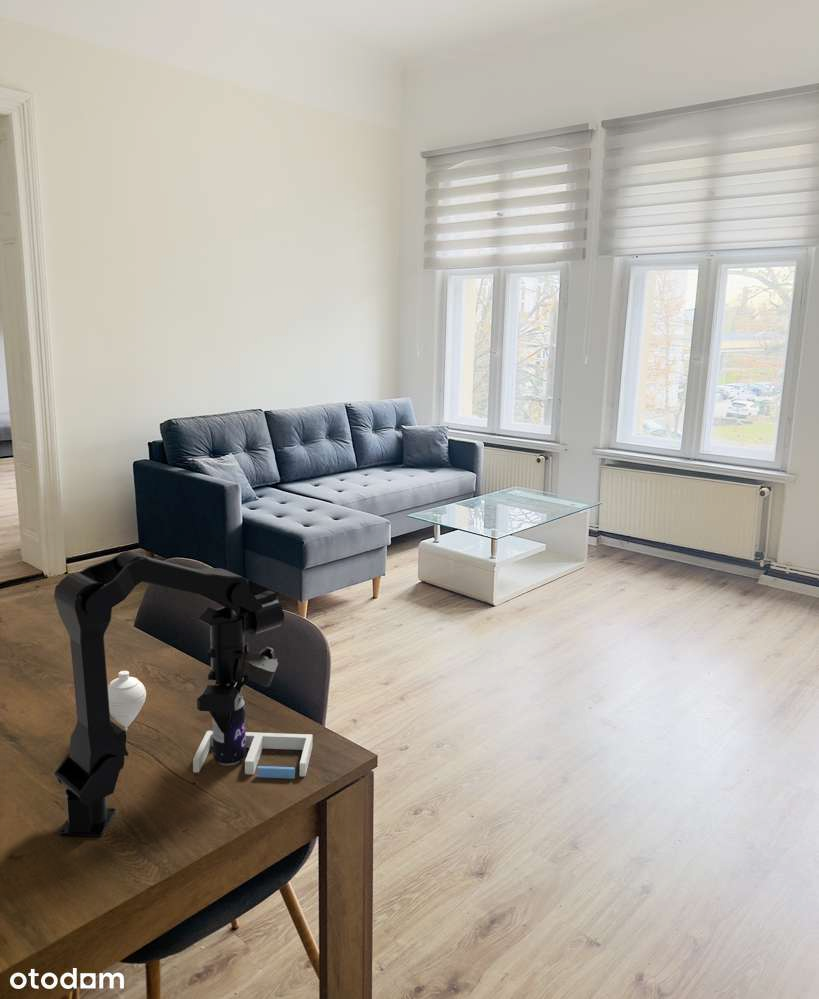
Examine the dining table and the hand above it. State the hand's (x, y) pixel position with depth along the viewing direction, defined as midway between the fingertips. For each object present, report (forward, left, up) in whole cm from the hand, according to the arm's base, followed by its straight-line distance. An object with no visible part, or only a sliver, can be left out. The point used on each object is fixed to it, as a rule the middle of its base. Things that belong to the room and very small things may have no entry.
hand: (228, 723), depth 141 cm
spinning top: (+8, +22, -7) cm, 24 cm away
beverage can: (0, 0, -7) cm, 7 cm away
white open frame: (0, -4, -7) cm, 8 cm away
